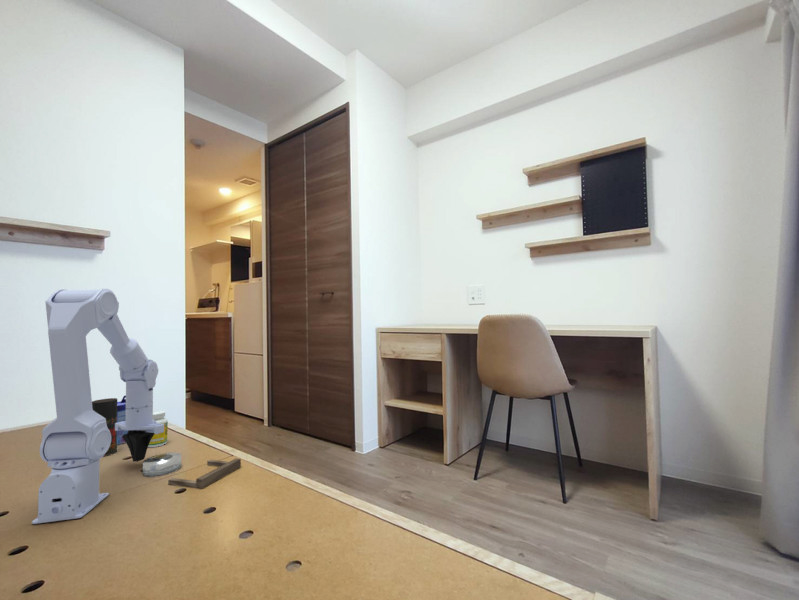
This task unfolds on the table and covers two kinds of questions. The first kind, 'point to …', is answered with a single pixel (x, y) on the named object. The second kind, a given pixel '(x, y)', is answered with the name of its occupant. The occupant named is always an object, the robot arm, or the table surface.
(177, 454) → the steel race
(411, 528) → the table surface
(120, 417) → the ink cartridge box
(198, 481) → the cradle
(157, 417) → the supplement bottle
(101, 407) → the deodorant
